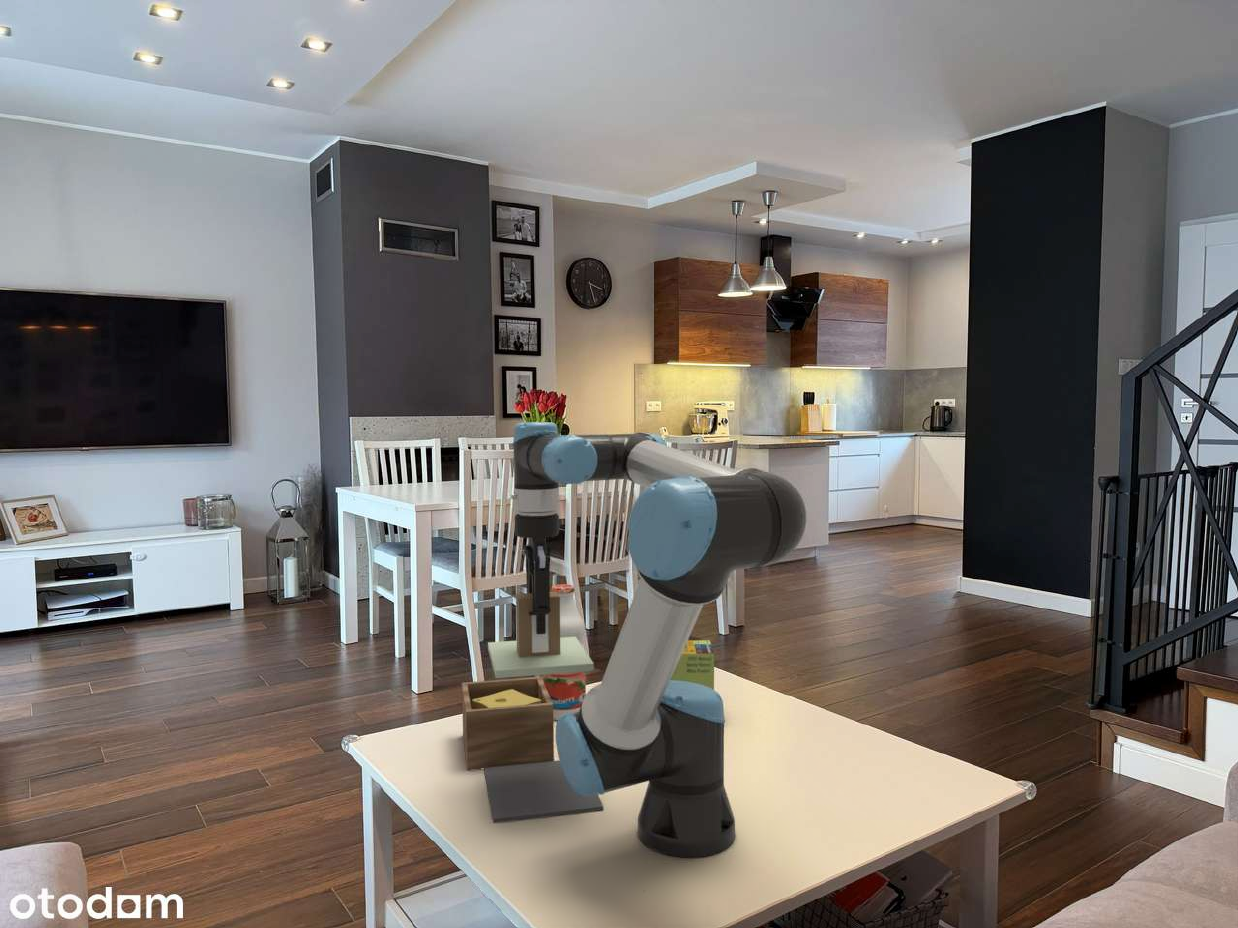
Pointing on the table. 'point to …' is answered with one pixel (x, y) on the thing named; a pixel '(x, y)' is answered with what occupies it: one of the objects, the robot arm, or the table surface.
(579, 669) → the lid
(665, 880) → the table surface
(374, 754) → the table surface
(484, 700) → the cheese
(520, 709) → the box
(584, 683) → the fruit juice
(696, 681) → the protein box
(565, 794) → the mat
